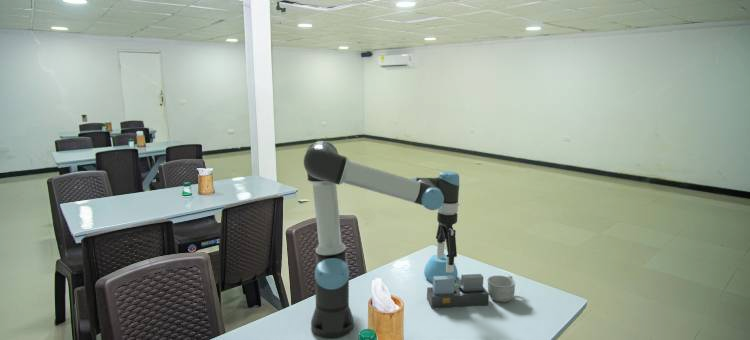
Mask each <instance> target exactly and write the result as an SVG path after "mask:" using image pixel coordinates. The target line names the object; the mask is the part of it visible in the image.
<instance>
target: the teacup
mask: <svg viewBox="0 0 750 340" xmlns="http://www.w3.org/2000/svg"><path fill="white" fill-rule="evenodd" d="M515 289H516V281H515V280H514V278H513V276H512V275H507V276H504V275H492V276H489V277H488V278H487V292H488V293H489V298H491V299H493V300H494V301H496V302H498V303H507V302H508V301H511V300H512V299H513V298H514V297H515Z"/></svg>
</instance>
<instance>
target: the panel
mask: <svg viewBox="0 0 750 340" xmlns="http://www.w3.org/2000/svg"><path fill="white" fill-rule="evenodd" d="M455 282H456V279H455V278H454V277H453V276H433V282H432V287H433V288H432V293H433V295H437V294H454V286H455Z"/></svg>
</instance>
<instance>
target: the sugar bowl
mask: <svg viewBox="0 0 750 340" xmlns="http://www.w3.org/2000/svg"><path fill="white" fill-rule="evenodd" d="M446 255H447V254H445V253H444V258H442V259H437V253H436V254H433V255H432V256H431V257H429V259H428V260H427V262H426V264H425V266H424V271H423V274H424V276H425V278H426V279H427V280H428V281H429V282H431V283H433V276H453V277H454V278H455V280H457V278H458V275H459V274H458V268H457V266H456V263H455V262H454V272H449V273H447V272H446V263H447V257H446Z"/></svg>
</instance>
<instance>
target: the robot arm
mask: <svg viewBox="0 0 750 340" xmlns="http://www.w3.org/2000/svg"><path fill="white" fill-rule="evenodd" d="M303 166H304V167H303V168H304V169H305V172H306V174H307V181H308V182H309V183H310V184H311V185H312V191H313V200H314V209H315V220H316V229H317V240H318V245H317V247H315V259H316V267H315V270H314V279H315V281H314V282H315V283H314V284H315V286H314V287H315V308H314V310H313V315H312V317H311V321H310V329H311V332H312V333H313V334H315V335H316V336H318V337H320V338H324V339H336V338H338V339H339V338H341V337H345V336H346V334H347V335H349V332H350V331H351V330H352V331H353V329H354V325H355V323H354V321H355V320H354V316H353V314H352V311H351V307H350V303H349V302H350V298H349V297H350V291H349V289H350V288H349V287H350V282H349V281H350V279H349V278H350V269H349V259H348V256H347V255H348V254H347V246H346V244H344V243H343V242H342V232H341V222H340V211H339V210H340V209H339V200H338V189H337V185H338V186H339V185H342V184H346V185H350V186H353V187H357V188H360V189H365V190H367V191H372V192H373V193H374V192H375V193H378V194H381V195H386V196H389V197H392V198H395V199H400V200H402V201H403V200H404V201H407V202H411V203H414V204H417V205H420V206H423V207H424V208H425V209H427V210H429V211H437V216H436V217H437V218H436V219H437V222H438V226H437V231H436V236H435V239H436V242H437V244H436V245H437V247H436V254H437V259H442V258H444V254H445V245H446V250H447V251H446V252H447V254H445V255H446V257H447V263H446V272H447V273H449V272H454V263H455V258H457V257H458V255H457V244H456V243H457V240H456V233H457V232H456V229H454V227H453V226H454V225H455V224H456V223H458V211H459V210H458V209H459V206H460V203H459V193H460V192H459V191H460V186H461V185H460V174H458V172H455V171H450V170H449V171H441V172H439V175H438V177H417V176H416V177H409V178H408V177H405V176H401V175H397V174H394V173H391V172H388V171H385V170H380V169H378V168H374V167H370V166H367V165H363V164H360V163H357V162H353V161H350V159H349V157H348V156H345V155H341V154H339V151H338V149H337V148H336V147H335V145H334V144H332V143H330V142H328V141H327V140H325V141H323V140H319V141H316V142H313V143H311V144H310V145H309V146H308V148H307V149H306V152H305V154H304V157H303ZM445 243H446V244H445ZM352 331H351V332H352ZM351 332H350V333H351ZM344 335H345V336H344Z"/></svg>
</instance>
